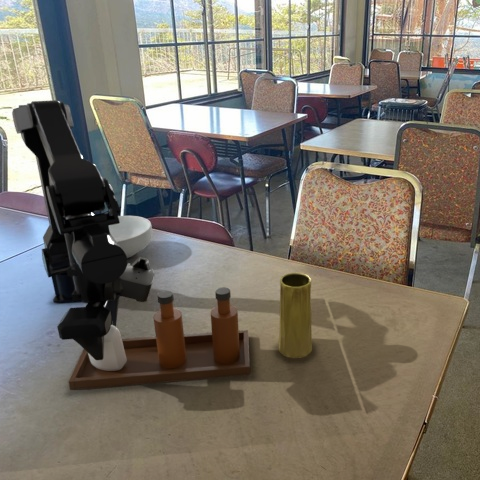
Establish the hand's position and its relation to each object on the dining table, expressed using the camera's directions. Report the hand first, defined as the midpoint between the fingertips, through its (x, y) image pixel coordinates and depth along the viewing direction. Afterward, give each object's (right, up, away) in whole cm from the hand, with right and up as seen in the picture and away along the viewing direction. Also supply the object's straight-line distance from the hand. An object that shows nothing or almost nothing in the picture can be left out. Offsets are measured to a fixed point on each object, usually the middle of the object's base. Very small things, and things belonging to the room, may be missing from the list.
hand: (106, 342), depth 78 cm
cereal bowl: (-16, +13, +42) cm, 47 cm away
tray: (+9, -4, +4) cm, 10 cm away
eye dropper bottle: (0, -4, +2) cm, 4 cm away
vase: (+30, -3, +8) cm, 31 cm away
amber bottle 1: (+10, -4, +4) cm, 11 cm away
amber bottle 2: (+19, -3, +5) cm, 20 cm away
